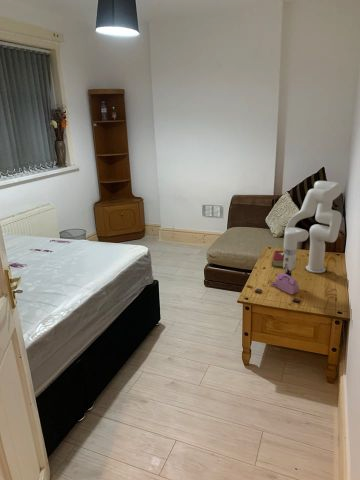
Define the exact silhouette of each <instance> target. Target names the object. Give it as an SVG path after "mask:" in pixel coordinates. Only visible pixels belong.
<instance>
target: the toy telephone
mask: <svg viewBox="0 0 360 480" xmlns="http://www.w3.org/2000/svg"><path fill="white" fill-rule="evenodd" d="M270 286H271V287H276V288H277V289H279V290H281V291H283V292H285V293H288V294H289V295H294V294H297V293H299V284H298V283H297V280H296V278H294V277H292V275H291V276H289V275H287V274H285V273H282V272H279V273H278V275H277V276H276V278H275V280H274V282H271V284H270Z"/></svg>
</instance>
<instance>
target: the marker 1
mask: <svg viewBox="0 0 360 480" xmlns="http://www.w3.org/2000/svg"><path fill="white" fill-rule="evenodd" d="M262 292H263V289H261V288H256V289H255V290H254V293H256V294H261V293H262Z"/></svg>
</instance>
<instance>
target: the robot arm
mask: <svg viewBox="0 0 360 480" xmlns="http://www.w3.org/2000/svg"><path fill="white" fill-rule="evenodd" d="M342 192H343V185H342V184H341V183H340V182H336V181H329V180H317V181H314V184H313V188H310V189H309V190H308V191H307V192H306V195H305V197H304V200H303V203H302V205H301V207H300V210H299V211H298V212H296V213H294V214H293V215H292V216H291V217H290V218H289V219H288V221H287V223H286V226H285V228H284V234H283V250H282V251H283V253H284V254H285V255H284V262H283V267H282V269H283V270H284V274H287V275H289V276H291V277H292V273H293V271H292V270H294V268H295V267H296V265H297V263H296V262H297V250H298V249H297V247H298V243H300V242H301V243H303V242H305V241H307V240H308V238H309V251H308V252H309V253H308V264H307V265H306V266H305V270H306V271H307V272H309V273H313V274H323V273H325V272H326V271H327V270H326V267H325V266H324V263H325V256H326V242H327V243H335V242H336V241H337V239H338V237H339V232H340V228H341V224H342V213H341V212H340V211H338V210H334V209H332V207H333V201H334V200H336V199H337V198H338V197H339V196H340V195H341V194H342ZM314 216H315V218H314V219H315V221H316V222H318V223H320V224H316V223H315V224H313V225H311V226H310V228H309V231H308V230H306V229H303V228H300V227H296V225H297V223H298V222H299V221H301V220H304V219H307V218H312V217H314ZM328 225H329V226H328Z"/></svg>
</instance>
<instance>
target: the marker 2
mask: <svg viewBox="0 0 360 480" xmlns="http://www.w3.org/2000/svg"><path fill="white" fill-rule="evenodd" d="M300 301H301V299H300V298H298V297H294V298H293V299H292V302H293V303H297V304H298V303H300Z"/></svg>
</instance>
